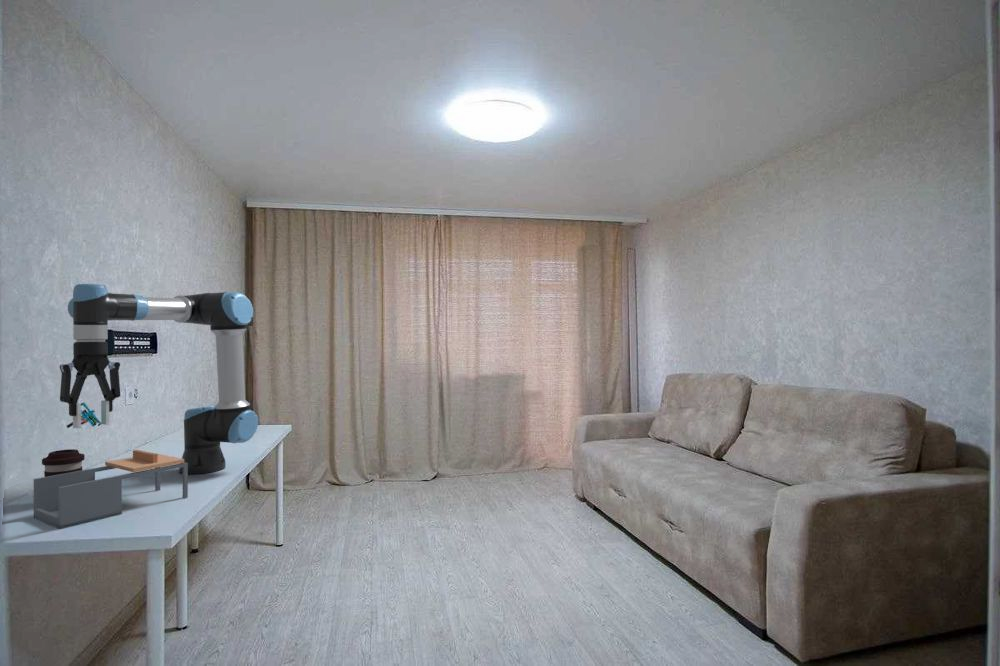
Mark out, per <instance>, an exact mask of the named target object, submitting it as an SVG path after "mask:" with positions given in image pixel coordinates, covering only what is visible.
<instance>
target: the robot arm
mask: <svg viewBox="0 0 1000 666" xmlns="http://www.w3.org/2000/svg"><path fill="white" fill-rule="evenodd" d="M67 312H68V314H69V316H70V317H71V318H72V319H73V320H72V322H73V325H72V327H73V328H72V330H73V334H72V337H73V341H74V343H73V344H72V347H73V348H72V349H73V353H72V354H73V358H72V361H71V362H68V363H66V364H60V365H59V367H58V368H59V370H60V373H61V375H60V376H61V379H60V380H61V381H60V392H59V393H60V394H59V402H61V403H67V404H68V415H69V416H70V417H72V422H73V426H72V428H73V429H82V425H81V422H82V421H81V416H82V414H81V410H82V406H81V403H79V402H78V401H79V399H80V396H81V394H82V390H83V387H84V384H85V381H86V379H87V378H88V376H89V377H90V376H94V377H95V378H96V381H97V383H98V385H99V387H100V391H101V393H102V396H103V399H104V400H101V401H100V409H101V411H100V414H101V415H100V416H101V417H100V420H101V421H100V422H101V423H102V424H101V425H105V426H107V425H110V413H111V412H113V406H114V405H113V401H115V399H116V398H117V399H118V398H120V397H121V384H120V374H119V373H120V372H119V370H120V368H121V367H120V366H121V363H120V362H118V361H116V362H115V361H111V360H110V359H109V358H108V354H109V349H108V347H109V346H108V344H109V343H108V342H107V341H106V340H108V336H109V335H108V328H109V327H108V325H109V324H108V321H132V322H133V321H174V322H176V323H179V324H181V323H182V324H186V323H187V324H194V325H204V326H209V327H210V331H211V333H213V334H214V336H215V346H216V347H215V348H216V350H215V351H216V369H217V370H216V371H217V389H218V390H217V391H218V402H217V403H216V404H215V405H208V406H201V407H195V408H188V409H187V410H185V412H184V418H183V428H184V429H183V434H184V436H183V438H184V441H183V443H184V446H183V447H184V451H183V453H182V455H181V459H184V463H188V475H197V474H198V475H199V474H208V473H213V472H218V471H220V470H224V469H226V465H227V464H226V458H225V457H224V453H223V450H222V448H221V443H230V444H241V443H243V444H244V443H246V442H249V441H250V439H252V438H253V437H254V435H255V434H256V432H257V429H258V426H259V418H258V415H257V414H256V412H255V411H254V410H251V404H250V402H248V401H247V400H246V388H245V367H244V366H245V365H244V363H245V362H244V348H243V347H244V345H243V335H244V333H245V332H246V331H247V325H248V324H249V323H251V322H252V319H253V317H254V308H253V304H252V302H251V300H250V299H249V298H248V297H247V296H246V295H245V294H244V293H241V292H235V291H234V292H233V291H225V292H206V293H205V292H203V293H197V294H189V295H176V296H174V297H151V296H150V297H149V296H143V295H140V294H139V295H138V294H134V293H133V294H128V293H127V294H126V293H111V292H109V291H108V287H107V286H106V285H105V284H98V283H96V284H95V283H79V284H75V285H74V286H73V290H72V298H71V299H70V300H69V301H68V304H67ZM107 367H108V369H109V371H108V372H109V381H110V382H108V379H107V375H106V372H105V369H106V368H107ZM73 368H74V370H76V374H75V380H74V383H73V385H72V388H71V383H72V371H73ZM109 383H110V384H109ZM178 473H179V474H183V467H181V468H178Z"/></svg>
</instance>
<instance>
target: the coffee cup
mask: <svg viewBox="0 0 1000 666" xmlns="http://www.w3.org/2000/svg"><path fill="white" fill-rule="evenodd" d="M85 456H86V455H85V454H83V453H80V451H79V449H74V448H73V449H71V448H70V449H69V448H68V449H59V450H55V451H54V450H53V451H51V452H48V455H47V456H45V457H43V458H42V459H41V466H44V472H43V474H44V476H43V477H48V476H53V475H59V474H64V473H70V472H76V471H81V470H83V461H85Z"/></svg>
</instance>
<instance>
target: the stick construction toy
mask: <svg viewBox="0 0 1000 666" xmlns="http://www.w3.org/2000/svg"><path fill="white" fill-rule="evenodd" d="M80 404H81V407H82V406H83V407H84V408H85V409H83V410H82V409H81V426H83V425H84V424H87V423H88V422H89V424H90V425H91V427H96V425H97V426H98V427H99V426H101V425H103V424H102V423H101V421H100V420H99V419H98V417H97V416H96V414H95V409H92V410H91V409H90V408H89V406H88V405H87V404H86V402H82V403H80ZM71 427H73V421H72V422H70V423H68V424H67V425H66V428H67V429H69V428H71Z"/></svg>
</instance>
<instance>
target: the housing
mask: <svg viewBox="0 0 1000 666" xmlns="http://www.w3.org/2000/svg"><path fill="white" fill-rule="evenodd" d="M181 467H183V473H182V499H187V497H189V495H188V494H189V492H188V491H189V489H188V487H189V482H188V481H189V479H188V477H189V476H188V475H189V474H188V463H179V464H174V465H169V466H164V467H158V468H153V469H148V470H143V471H138V472H130V473H125V474H124V473H123V474H120V475H115V476H110V477H109V476H108V477H105V478H99V479H96V473H97V472H98V473H99V472H102V471H108V470H109V471H110V470H114V469H116V468H114V467H110V466H106V465H104V466H98V467H93V468H87V469H82V470H81V471H76V472H70V473H64V474H59V475H53V476H48V477H45V476H42V477H37V478H33V519H35V520H37V521H41V522H42V523H44V524H48V525H49V526H52V527H54V528H57V529H59V530H63V529H66V528H71V527H74V526H79V525H82V524H86V523H90V522H91V523H92V522H95V521H98V520H99V521H100V520H103V519H106V518H111V517H115V516H118V515H122V514H123V513H122V511H123V509H122V506H123V505H122V504H123V503H122V502H123V501H122V500H123V497H122V496H123V495H122V494H123V493H122V492H123V491H122V489H123V486H122V484H123V483H122V480H125V479H130V478H136V477H140V476H145V475H150V474H154V480H155V481H154V483H155V486H154V488H155V489H154V490H155V491H156V492H158V491H161V473H162V472H165V471H170V470H175V469H179V468H181Z"/></svg>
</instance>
